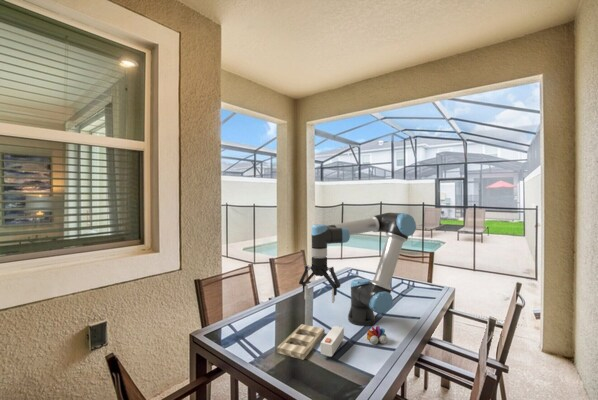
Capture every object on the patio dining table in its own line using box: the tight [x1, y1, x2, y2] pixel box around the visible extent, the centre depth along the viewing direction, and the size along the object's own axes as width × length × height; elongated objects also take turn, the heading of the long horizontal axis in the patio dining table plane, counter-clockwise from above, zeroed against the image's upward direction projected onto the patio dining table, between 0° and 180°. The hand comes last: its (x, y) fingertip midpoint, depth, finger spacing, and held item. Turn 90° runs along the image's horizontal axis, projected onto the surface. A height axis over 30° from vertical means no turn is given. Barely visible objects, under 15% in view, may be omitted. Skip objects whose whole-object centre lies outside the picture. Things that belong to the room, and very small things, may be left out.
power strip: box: [320, 325, 345, 358], centre depth 128 cm, size 5×18×8 cm, turn 154°
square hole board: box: [276, 323, 326, 360], centre depth 135 cm, size 13×26×2 cm, turn 154°
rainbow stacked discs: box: [366, 325, 388, 345], centre depth 136 cm, size 8×10×7 cm
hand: (319, 300), depth 135 cm, fingers open, 13 cm apart
